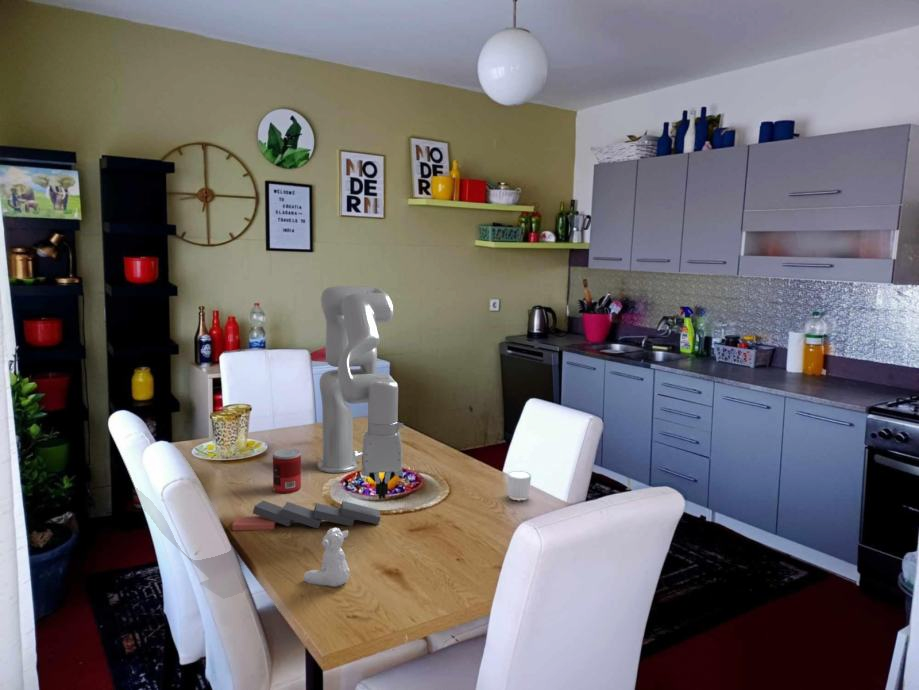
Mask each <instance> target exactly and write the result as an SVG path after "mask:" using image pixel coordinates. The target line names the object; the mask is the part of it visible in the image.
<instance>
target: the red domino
mask: <svg viewBox="0 0 919 690" xmlns="http://www.w3.org/2000/svg"><path fill="white" fill-rule="evenodd" d="M276 524H277V522H275V521H272V520H269V519H267V518H264V517H261V516H258V515H255V516H253V515H252V516H236V517H235V519H234V521H233V523H232V531H246V530H247V531H252V530H253V531H254V530H255V531H256V530H258V531H259V530H275V527H276Z"/></svg>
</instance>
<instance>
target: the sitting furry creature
mask: <svg viewBox="0 0 919 690" xmlns="http://www.w3.org/2000/svg"><path fill="white" fill-rule="evenodd" d="M348 536H349V531H348V530H343V531H341V529H340V528H339V527H331V528H329V530H327V531H326V534H325V535H324V536H323V538H322V542H321V545H322V546H323V547H324V550H323V555H322V562H321V566H320V570H318V569H310V570H308V571H305V572H304V575H303V580H304V581H305V582H306V583H308V584H310V585H311V584H312V585H319V586H324V587H325V586H327V587H331V588H332V587H334V588H335V587H340V586H343V585H344V584H346V582H347V581H348V580H349V578H350V573H351V569H350V568H349V566H348V562H347V560H346V554H345V552H344V550H343V549H342V545H343V544H344V542H345V538H347V537H348Z"/></svg>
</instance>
